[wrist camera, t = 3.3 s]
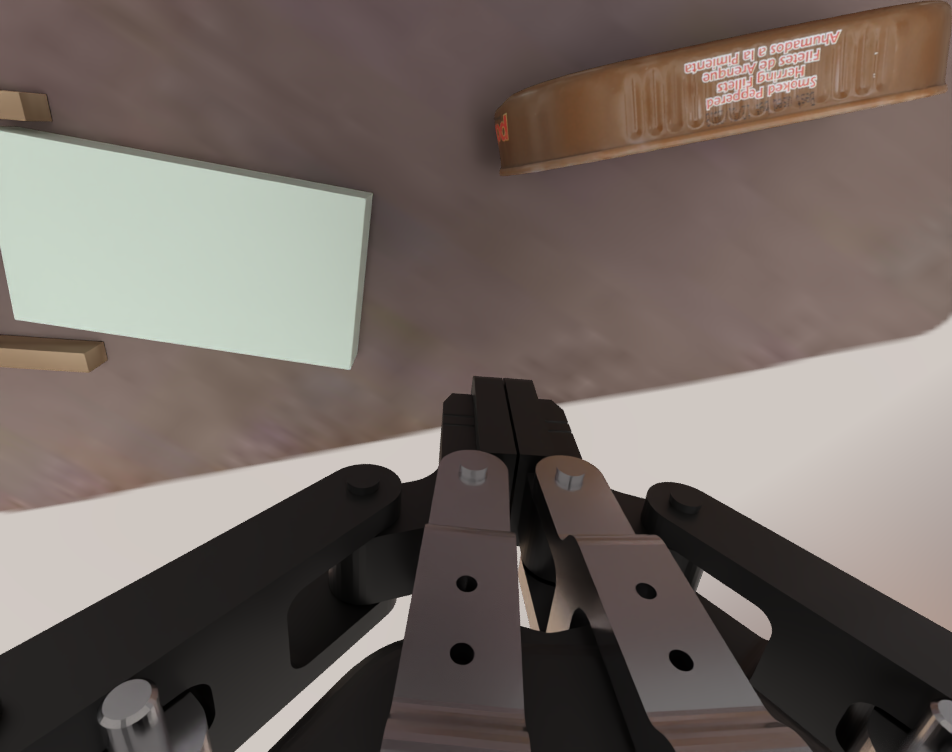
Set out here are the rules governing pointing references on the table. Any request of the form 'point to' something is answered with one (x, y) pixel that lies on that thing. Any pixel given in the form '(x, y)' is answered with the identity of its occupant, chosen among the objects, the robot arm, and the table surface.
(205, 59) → the table surface
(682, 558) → the robot arm
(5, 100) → the beige forked block
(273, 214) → the panel
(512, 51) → the table surface
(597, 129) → the tin
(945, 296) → the table surface
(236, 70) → the table surface
